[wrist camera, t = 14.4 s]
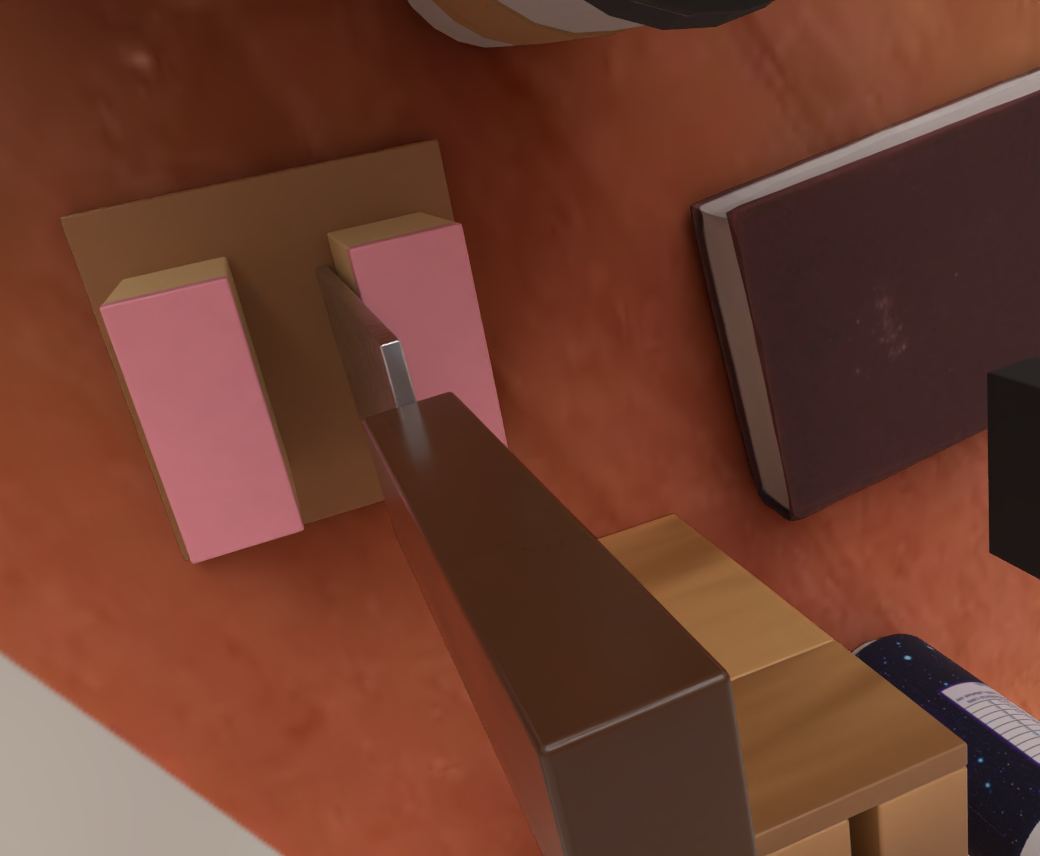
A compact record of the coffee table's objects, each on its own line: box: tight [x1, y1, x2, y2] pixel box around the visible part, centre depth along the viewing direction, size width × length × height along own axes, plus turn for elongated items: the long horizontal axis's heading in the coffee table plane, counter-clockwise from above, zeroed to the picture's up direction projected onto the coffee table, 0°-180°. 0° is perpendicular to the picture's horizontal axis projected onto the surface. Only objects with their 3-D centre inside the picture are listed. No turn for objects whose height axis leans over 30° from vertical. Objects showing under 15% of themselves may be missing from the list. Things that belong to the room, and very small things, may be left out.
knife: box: [315, 266, 758, 856], centre depth 18 cm, size 5×2×22 cm, turn 13°
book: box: [690, 67, 1040, 521], centre depth 34 cm, size 12×19×3 cm, turn 108°
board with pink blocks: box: [60, 139, 508, 564], centre depth 26 cm, size 11×11×6 cm
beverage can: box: [852, 634, 1040, 856], centre depth 35 cm, size 6×6×12 cm
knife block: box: [598, 514, 968, 856], centre depth 28 cm, size 7×6×15 cm
